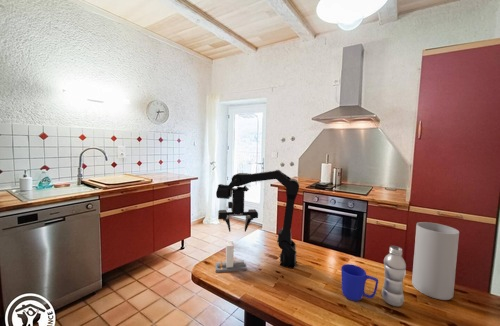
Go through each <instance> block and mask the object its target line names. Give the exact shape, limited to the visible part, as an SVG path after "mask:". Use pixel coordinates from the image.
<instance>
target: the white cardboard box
mask: <svg viewBox="0 0 500 326" xmlns="http://www.w3.org/2000/svg"><path fill="white" fill-rule="evenodd" d="M234 246H235V245H234V241H225V261H226V268H229V267H233V261H234V251H235V250H234Z"/></svg>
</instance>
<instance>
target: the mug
mask: <svg viewBox="0 0 500 326" xmlns="http://www.w3.org/2000/svg"><path fill="white" fill-rule="evenodd" d="M340 268H341V269H340V271H341V292H342V295H343V296H344V297H345V298H346V299H348V300H350V301H353V302H354V301H355V302H357V301H361V300H362V299H363V297H365V298H367V299H373V298H374V297H375V296H376V293H377V289H378V286H379V279H378V278H377V277H375V276H372V275H367V272H366V270H365V269H364V268H362V267H360V266H358V265H355V264H347V263H346V264H343V265H341V267H340ZM367 280H372V281H374V282H375V285H374V290H373V292H372V293H371V294H367V293H365V289H366V281H367Z"/></svg>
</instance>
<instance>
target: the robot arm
mask: <svg viewBox="0 0 500 326" xmlns="http://www.w3.org/2000/svg"><path fill="white" fill-rule="evenodd" d="M271 180H277V182H279V183H280V184H281V185H282V186H284V187H285V193H286V195H285V196H286V202H285V203H286V204H285V211H284V216H283V217H284V218H283V225H282V229H278V233H277V240H276V241H277V244H278V247H279V248H280V250H281V253H280V254H279V262H280V264H279V266H282V267H285V268H288V269H292V270H294V269H295V267H296V265H297V264H298V261H297V250H296V248H297V247H296V243H295V241H293V240H292V223H293V215H294V209H295V202H296V198H297V195H298V193H299V190H300V183H299V181H298V180H297V179H295V178H291V177H290V176H288V175H287V174H285V173H284V172H283V171H282V170H280V169H275V170H271V171H270V170H269V171H262V172H256V173H248V172H246V173H245V172H239V173H235V174H234V175H233V176H232V177H231V181H230V183H228V184H222V183H220V184H218V185H217V189H216V193H215V194H216V198H217V199H223V200H225V199H226V200H229V199H230V198H232V199H231V200H232V201H228V204H227V208H228V209H231V210H230V211H227V209H219V210H218V212H217V213H218V214H217V216H218V217H217V218H218V220H223V221H224V222H225V223H226V225H227V228H228V232H229V233H231V223H230V220H231V219H230V217H245V221H244V233H245V232H247V230H248V227H249V225H250V223H251V222H252V221H253V220H254V219H258V218H259V213H258V211H257V210H256V209H252V208H251V209H248V210H247V211H245V193H246V192H248V191H249V190H250V189H249V187H247V186H246V185H248V184H251V183H255V182H263V181H271Z"/></svg>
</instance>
